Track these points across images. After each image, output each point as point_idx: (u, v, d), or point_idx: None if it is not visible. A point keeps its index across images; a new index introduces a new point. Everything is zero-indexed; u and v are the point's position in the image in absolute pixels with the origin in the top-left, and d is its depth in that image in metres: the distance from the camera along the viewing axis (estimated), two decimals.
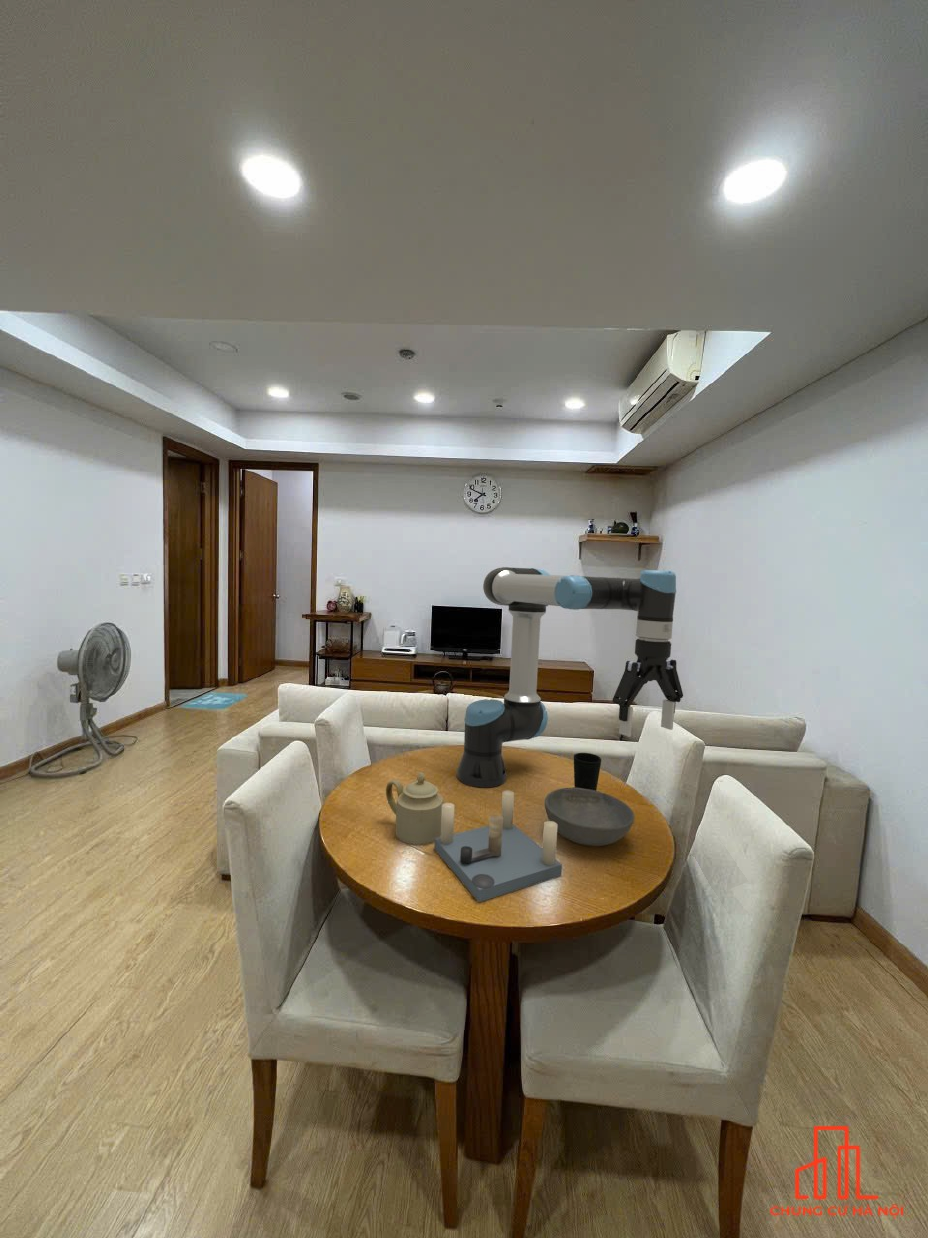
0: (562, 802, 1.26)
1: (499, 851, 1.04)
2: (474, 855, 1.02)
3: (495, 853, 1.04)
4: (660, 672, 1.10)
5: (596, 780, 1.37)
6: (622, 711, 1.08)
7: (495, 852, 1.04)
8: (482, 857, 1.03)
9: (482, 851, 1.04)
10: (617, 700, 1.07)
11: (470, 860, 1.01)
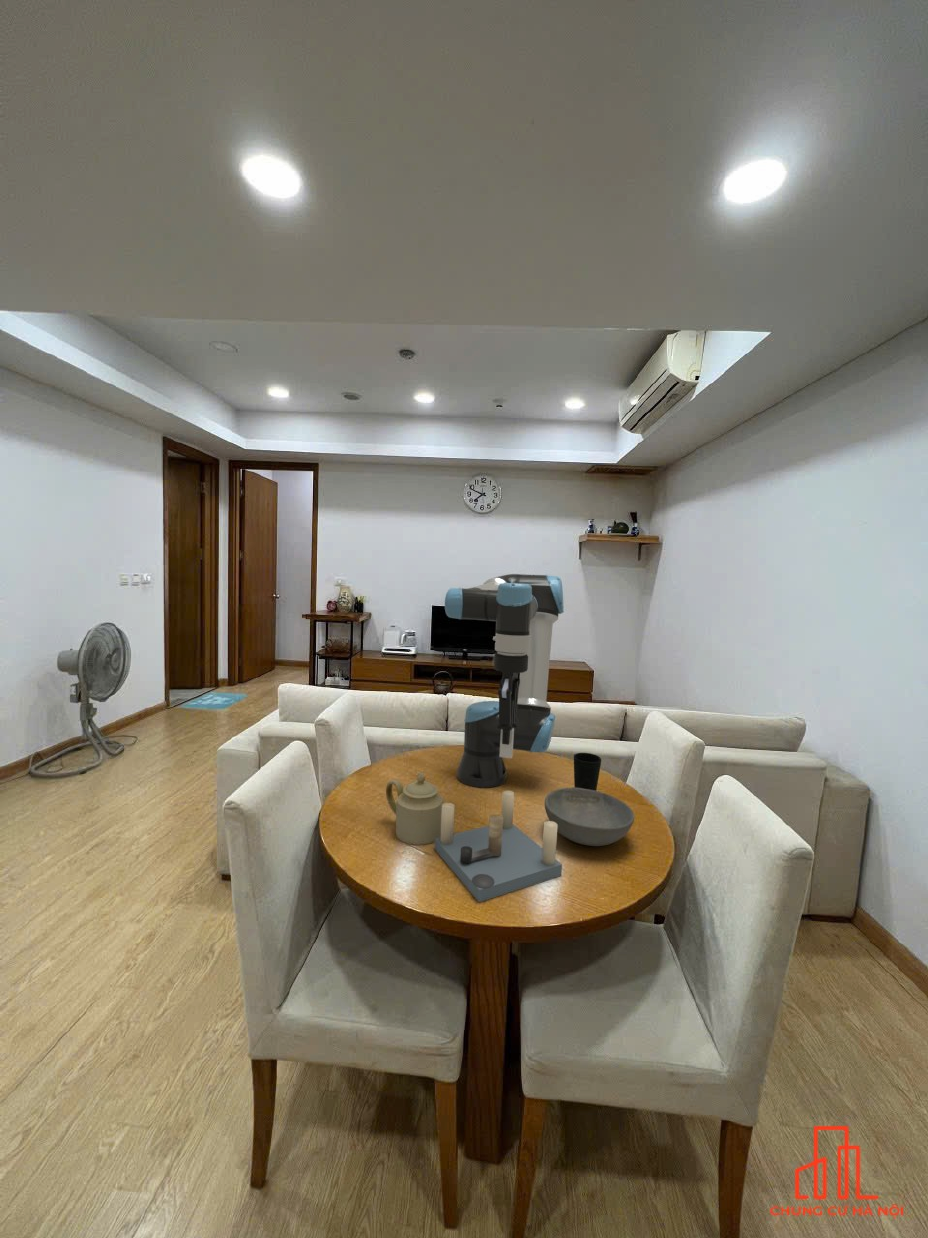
0: (562, 802, 1.26)
1: (499, 851, 1.04)
2: (474, 855, 1.02)
3: (495, 853, 1.04)
4: None
5: (596, 780, 1.37)
6: None
7: (495, 852, 1.04)
8: (482, 857, 1.03)
9: (482, 851, 1.04)
10: None
11: (470, 860, 1.01)
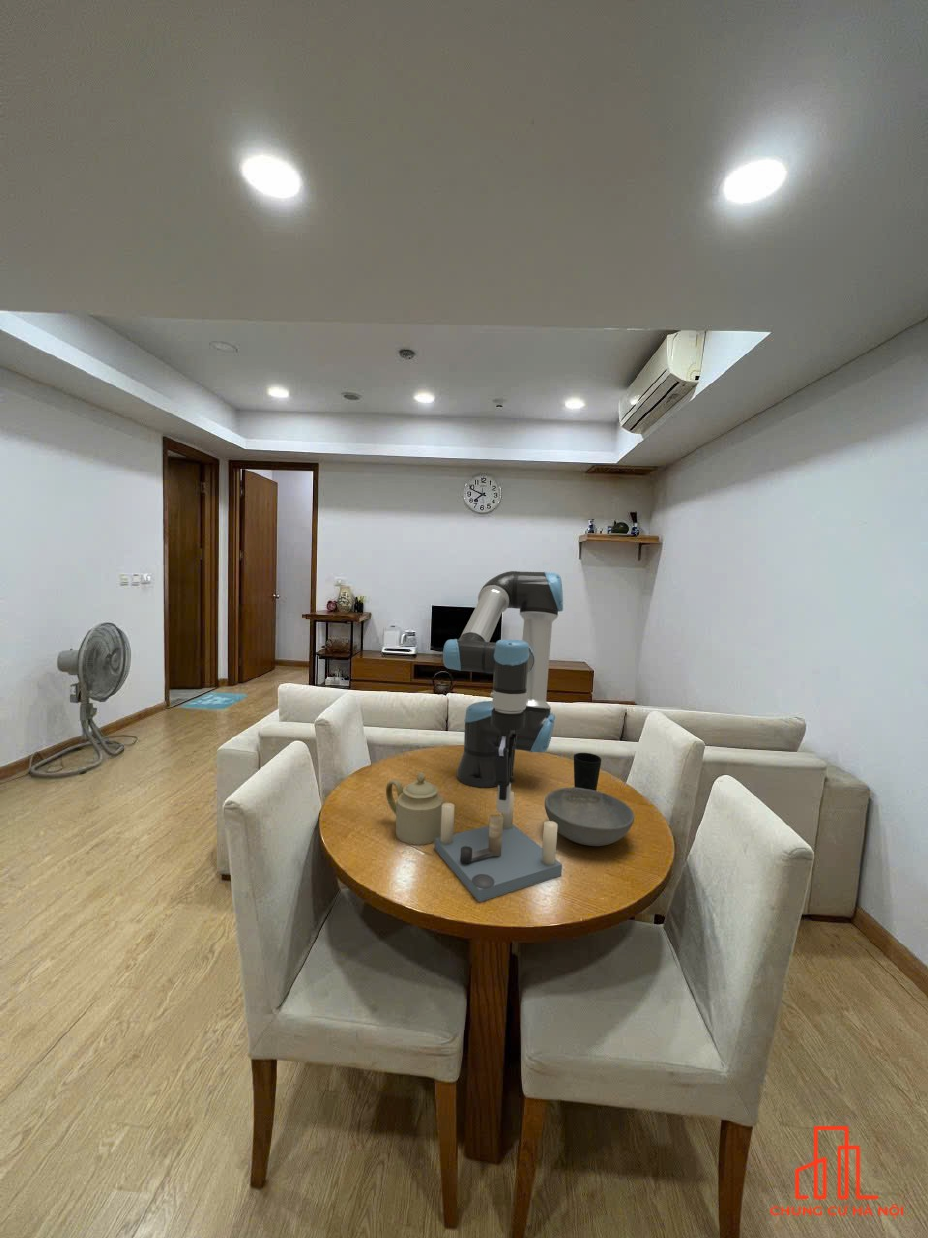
0: (562, 802, 1.26)
1: (499, 851, 1.04)
2: (474, 855, 1.02)
3: (495, 853, 1.04)
4: None
5: (596, 780, 1.37)
6: None
7: (495, 852, 1.04)
8: (482, 857, 1.03)
9: (482, 851, 1.04)
10: None
11: (470, 860, 1.01)
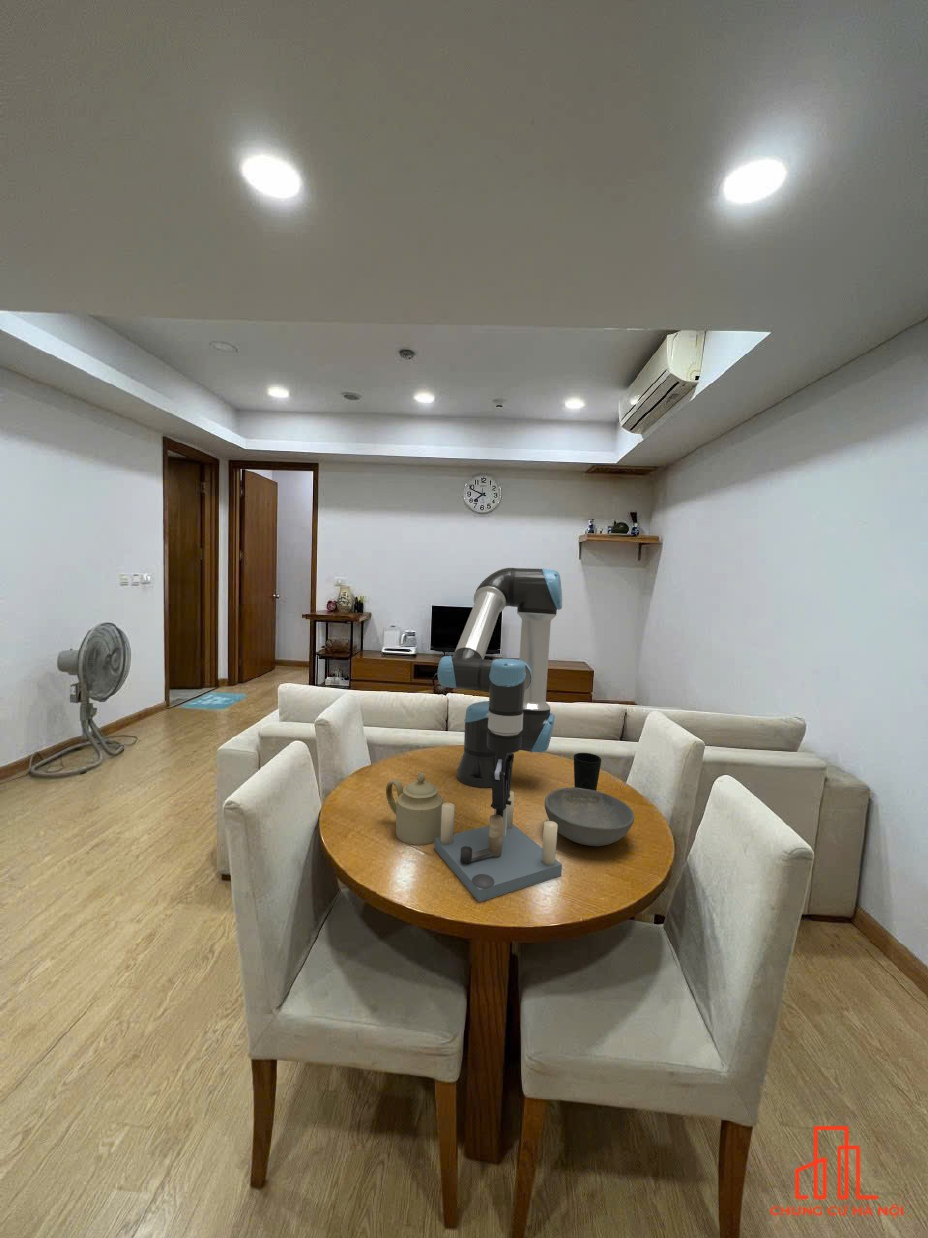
0: (562, 802, 1.26)
1: (500, 851, 1.04)
2: (474, 855, 1.02)
3: (495, 853, 1.04)
4: None
5: (596, 780, 1.37)
6: None
7: (495, 852, 1.04)
8: (482, 857, 1.03)
9: (482, 851, 1.04)
10: None
11: (470, 860, 1.01)
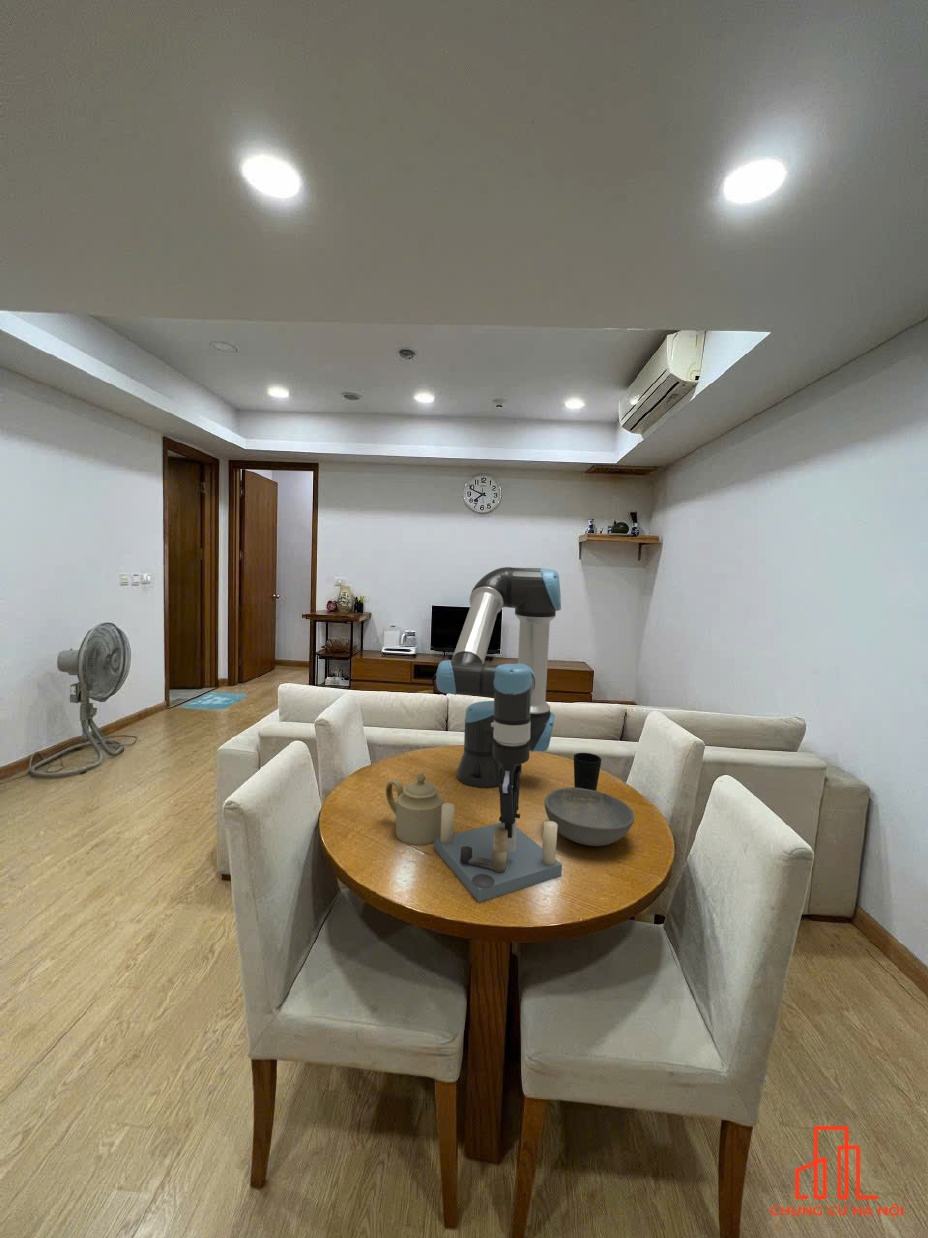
0: (562, 802, 1.26)
1: (499, 867, 0.98)
2: (474, 859, 1.01)
3: (494, 867, 0.99)
4: None
5: (596, 780, 1.37)
6: None
7: (494, 866, 0.99)
8: (480, 865, 1.00)
9: (485, 860, 1.01)
10: None
11: (466, 861, 1.01)
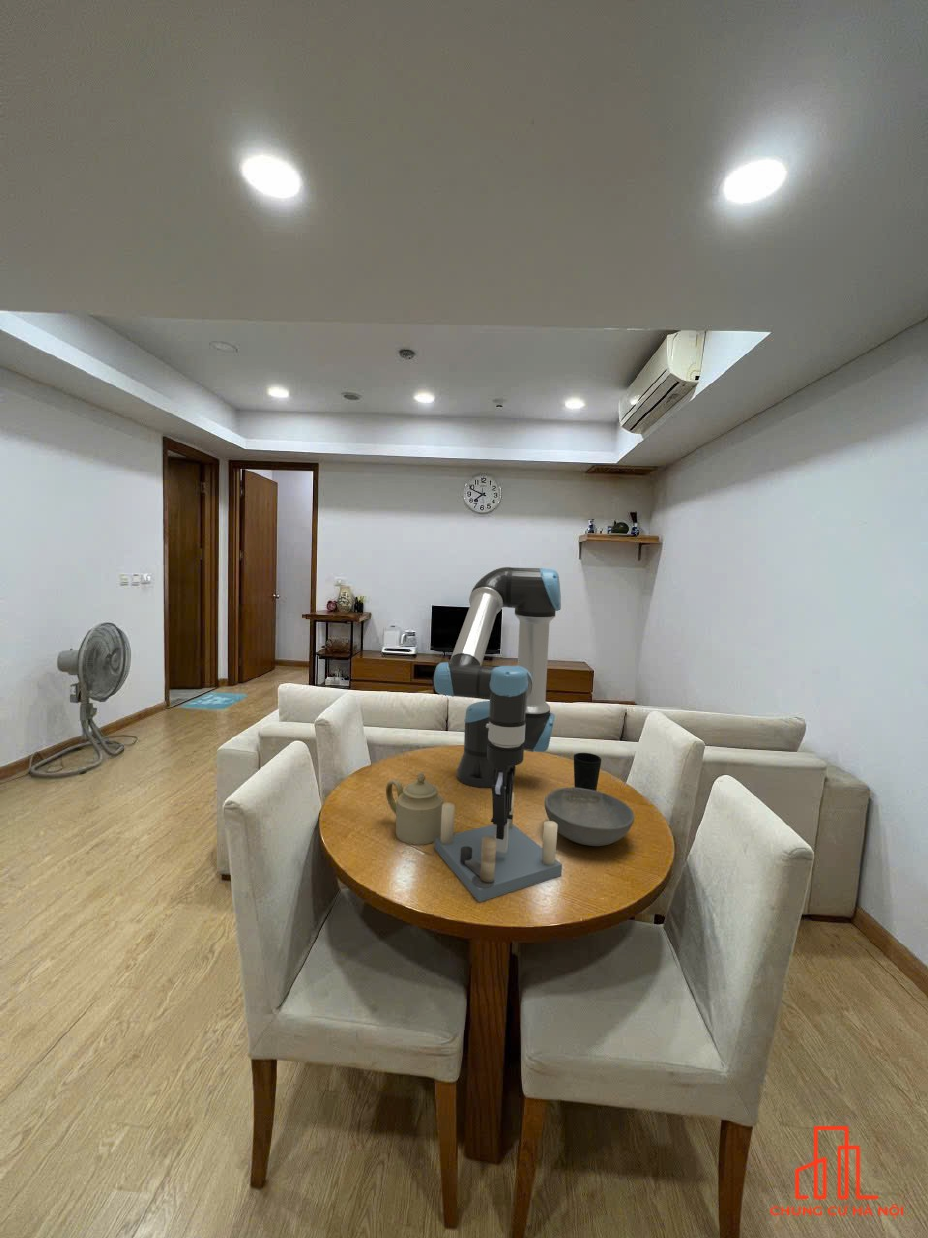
0: (562, 802, 1.26)
1: (483, 876, 0.95)
2: (470, 861, 1.00)
3: (480, 875, 0.96)
4: None
5: (596, 780, 1.37)
6: None
7: (480, 874, 0.96)
8: (472, 868, 0.99)
9: (479, 866, 0.99)
10: None
11: (463, 860, 1.01)
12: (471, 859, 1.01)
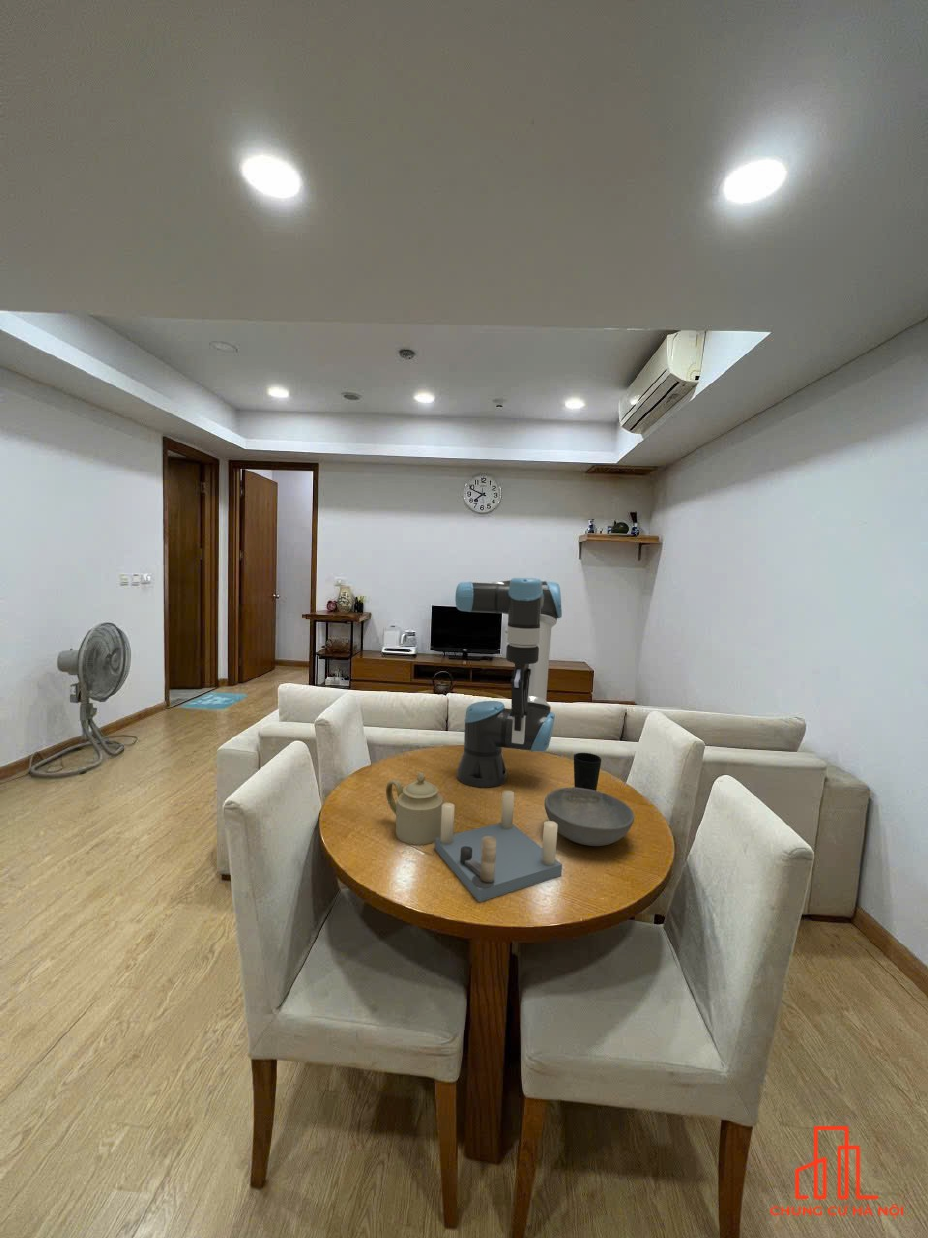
0: (562, 802, 1.26)
1: (483, 876, 0.95)
2: (470, 861, 1.00)
3: (480, 875, 0.96)
4: None
5: (596, 780, 1.37)
6: None
7: (480, 874, 0.96)
8: (472, 868, 0.99)
9: (479, 866, 0.99)
10: None
11: (463, 860, 1.01)
12: (471, 859, 1.01)
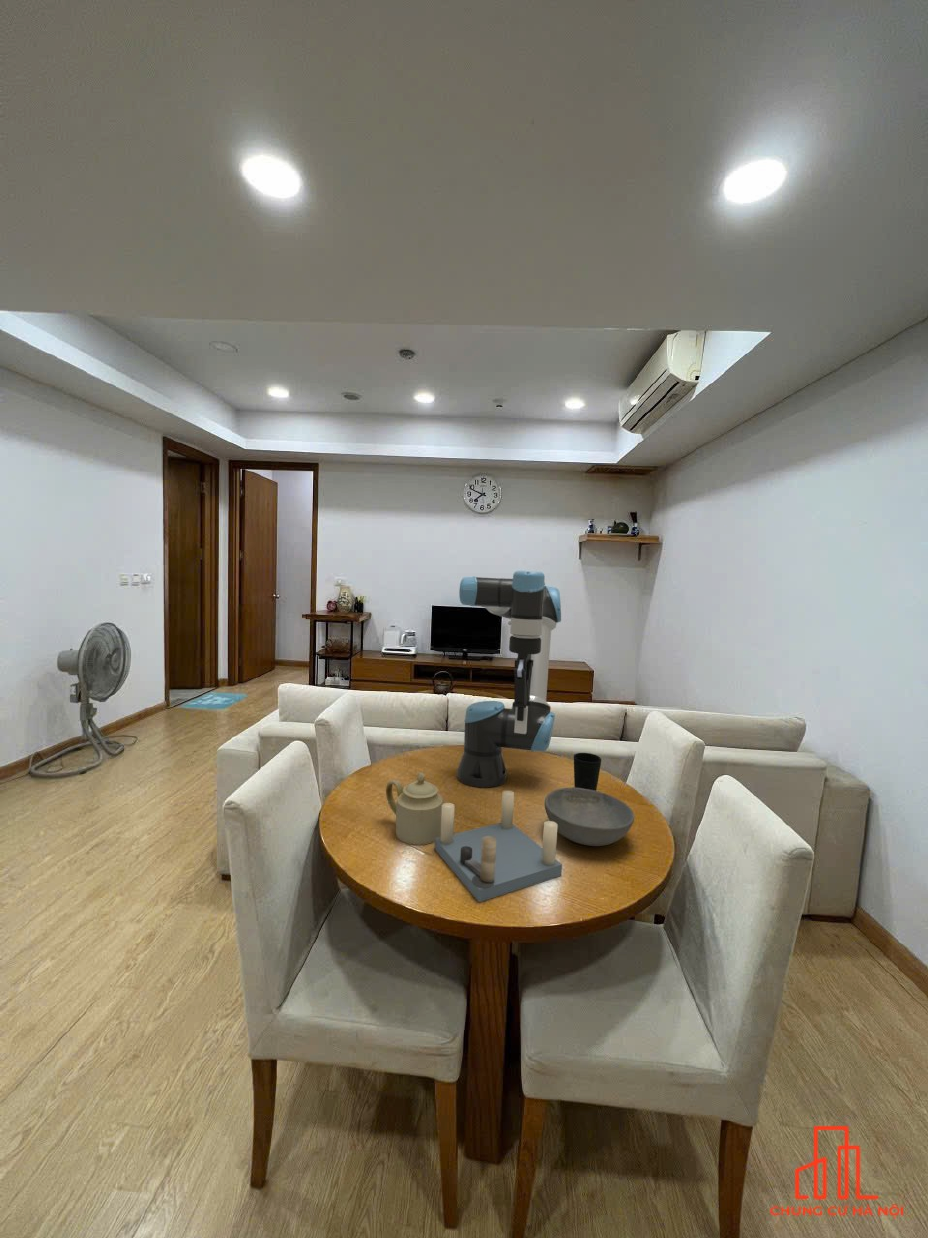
0: (562, 802, 1.26)
1: (483, 876, 0.95)
2: (470, 861, 1.00)
3: (480, 875, 0.96)
4: None
5: (596, 780, 1.37)
6: None
7: (480, 874, 0.96)
8: (472, 868, 0.99)
9: (479, 866, 0.99)
10: None
11: (463, 860, 1.01)
12: (471, 859, 1.01)
